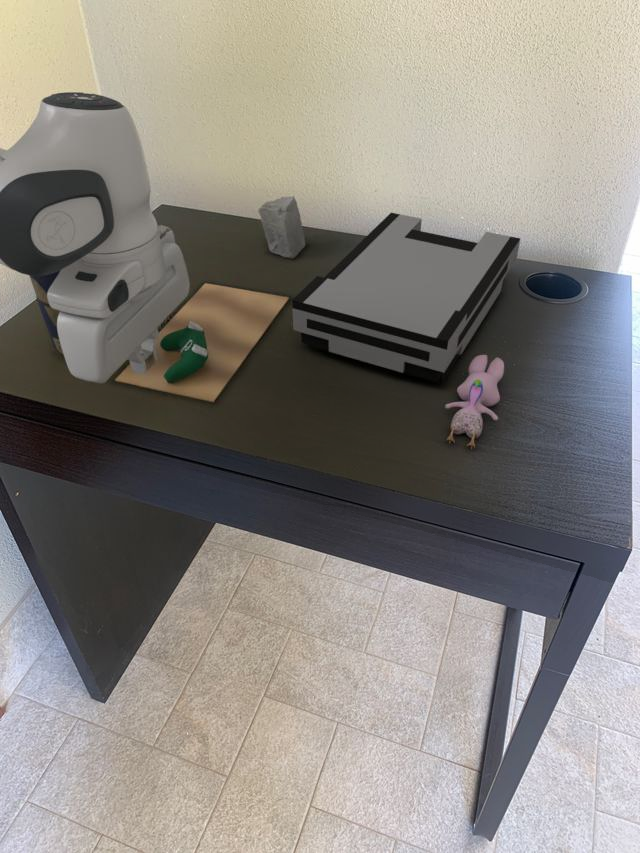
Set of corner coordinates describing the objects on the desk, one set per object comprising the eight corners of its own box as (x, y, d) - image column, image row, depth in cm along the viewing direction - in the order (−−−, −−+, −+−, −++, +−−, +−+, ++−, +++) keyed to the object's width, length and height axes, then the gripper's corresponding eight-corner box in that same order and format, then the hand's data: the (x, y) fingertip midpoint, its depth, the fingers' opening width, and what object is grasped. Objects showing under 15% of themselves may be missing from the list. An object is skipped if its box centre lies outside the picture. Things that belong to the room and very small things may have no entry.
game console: (512, 280, 106) (522, 230, 100) (440, 396, 85) (448, 341, 79) (388, 252, 113) (391, 205, 108) (294, 353, 92) (292, 299, 87)
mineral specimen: (310, 232, 118) (308, 192, 111) (298, 265, 113) (295, 225, 106) (269, 227, 119) (264, 187, 112) (255, 260, 114) (250, 219, 107)
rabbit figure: (486, 461, 78) (514, 371, 86) (492, 427, 73) (521, 336, 82) (433, 446, 80) (466, 360, 88) (435, 413, 75) (470, 326, 84)
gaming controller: (185, 395, 88) (215, 363, 86) (161, 381, 86) (191, 348, 84) (180, 354, 95) (207, 325, 93) (157, 341, 92) (184, 310, 90)
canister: (115, 363, 91) (82, 236, 79) (44, 363, 91) (0, 237, 79) (131, 323, 98) (102, 202, 86) (65, 324, 98) (28, 203, 86)
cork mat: (213, 402, 84) (213, 401, 84) (115, 381, 88) (114, 379, 88) (289, 298, 103) (289, 297, 102) (205, 284, 106) (205, 283, 106)
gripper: (144, 215, 79) (164, 316, 88) (35, 303, 65) (72, 414, 74) (193, 222, 78) (208, 325, 87) (91, 314, 63) (122, 426, 72)
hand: (145, 366), depth 80 cm, fingers closed
